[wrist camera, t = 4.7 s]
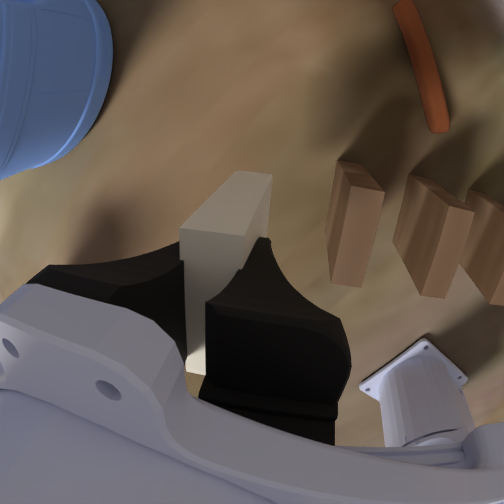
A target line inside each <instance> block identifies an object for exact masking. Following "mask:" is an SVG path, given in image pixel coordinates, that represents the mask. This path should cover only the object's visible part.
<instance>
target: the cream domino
mask: <svg viewBox="0 0 504 504" xmlns="http://www.w3.org/2000/svg"><path fill="white" fill-rule="evenodd" d="M272 177H273V174H264V173H255V172H245V171H236V172H235V173H234V174H232V175H231V176H230V177H229V178H228V179H227V180H226V181H225V182H224V183H223V184H222V185H221V186H220V187H219V188H218V189H217V190H216V191H215V192H214V193H213V194H212V195H211V196H210V197H209V198H208V199H207V200H206V201H205V202H204V203H203V204H202V205H201V206H200V207H199V208H198V209H197V210H196V211H195V212H194V213H193V214H192V215H191V216H190V217H189V218H188V219H187V220H186V221H185V222H184V223H183V224H182V225H181V226H180V227H179V242H180V260H184V286H185V316H186V338H187V359H186V371H187V372H192V373H197V374H201V375H206V365H205V302H206V301H208V300H210V299H212V298H213V297H215V296H216V295H218V294H219V293H220V292H221V291H222V290H223V289H224V288H225V287H226V286H227V285H228V284H229V282H230V281H231V280H232V278H233V277H234V276H235V274H236V272H237V271H238V269H242V268H243V266H244V264H245V262H246V260H247V258H248V256H249V254H250V252H251V250H252V248H253V246H254V244H255V242H256V240H257V239H258V238H259V237H265V238H266V237H267V228H268V218H269V208H270V198H271V187H272Z"/></svg>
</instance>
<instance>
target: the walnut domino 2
mask: <svg viewBox="0 0 504 504" xmlns="http://www.w3.org/2000/svg"><path fill="white" fill-rule="evenodd" d="M474 214H475V212H474V211H473V210H471V209H470V208H469V207H467V206H466V205H465V204H464V203H462V202H461V201H460V200H458V199H457V198H456V197H454V196H453V195H452V194H450V193H449V192H447V191H446V190H445V189H443V188H442V187H440V186H439V185H438V184H436V183H435V182H433V181H432V180H430V179H429V178H425V177H420V176H416V175H412V174H408V179H407V183H406V188H405V193H404V197H403V202H402V206H401V210H400V214H399V218H398V222H397V226H396V230H395V234H394V238H393V243H394V245H395V247H396V249H397V251H398V253H399V254H400V256H401V258H402V260H403V262H404V264H405V266H406V268H407V270H408V272H409V274H410V276H411V278H412V279H413V281H414V283H415V286H416V288H417V290H418V292H419V294H420V296H428V297H436V298H444V299H445V297H446V295H447V292H448V290H449V287H450V285H451V282H452V280H453V277H454V274H455V272H456V269H457V266H458V264H459V261H460V258H461V255H462V252H463V249H464V246H465V243H466V240H467V237H468V234H469V231H470V227H471V224H472V221H473V217H474Z"/></svg>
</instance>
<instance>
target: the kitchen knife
mask: <svg viewBox="0 0 504 504" xmlns="http://www.w3.org/2000/svg"><path fill="white" fill-rule="evenodd" d="M397 1H398V2H397V3H396V4H395V5H394V6H393V8H392V10H393V13H394V15H395V17H396V20H397V22H398V24H399V27H400V29H401V32H402V34H403V37H404V40H405V43H406V46H407V49H408V52H409V56H410V59H411V62H412V66H413V69H414V73H415V77H416V80H417V84H418V88H419V92H420V96H421V100H422V105H423V109H424V113H425V116H426V120H427V123H428V126H429V129H430V130H431V132H433V133H436V134H437V133H444V132H447V131H449V129H450V119H449V114H448V109H447V105H446V100H445V96H444V92H443V88H442V84H441V80H440V77H439V73H438V70H437V66H436V63H435V59H434V56H433V53H432V50H431V47H430V44H429V41H428V38H427V35H426V32H425V29H424V27H423V24H422V21H421V19H420V16H419V14H418V11H417V9H416V6H415V4H414V2H413V1H411V0H397Z"/></svg>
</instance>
